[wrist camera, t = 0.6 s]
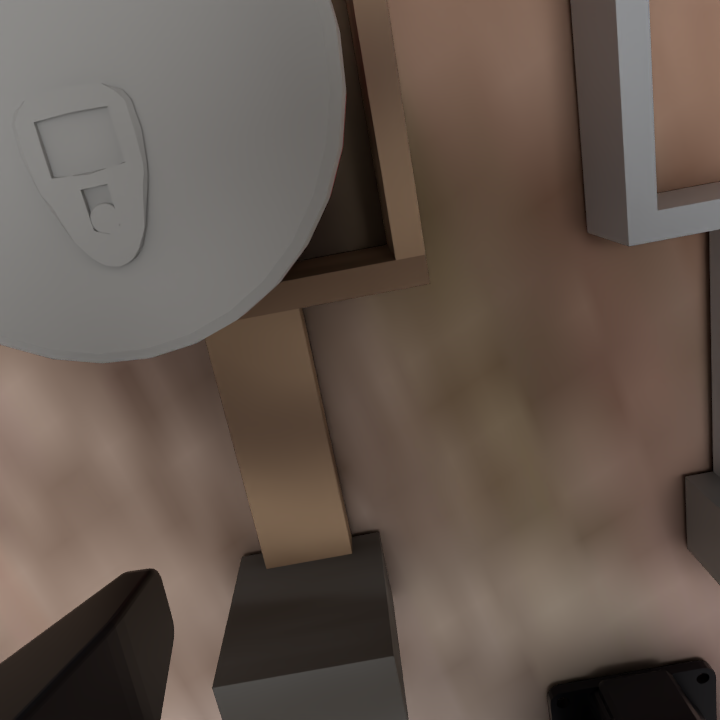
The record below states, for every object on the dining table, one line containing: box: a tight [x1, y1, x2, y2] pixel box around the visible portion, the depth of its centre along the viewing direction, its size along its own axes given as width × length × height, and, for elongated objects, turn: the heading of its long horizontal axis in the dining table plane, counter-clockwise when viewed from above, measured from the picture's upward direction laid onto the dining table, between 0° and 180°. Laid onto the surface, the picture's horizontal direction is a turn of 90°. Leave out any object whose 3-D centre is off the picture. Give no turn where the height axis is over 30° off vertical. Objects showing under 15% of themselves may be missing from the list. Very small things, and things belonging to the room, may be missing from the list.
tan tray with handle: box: [205, 0, 430, 720], centre depth 18 cm, size 23×11×6 cm, turn 10°
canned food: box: [0, 0, 346, 363], centre depth 14 cm, size 8×8×11 cm
